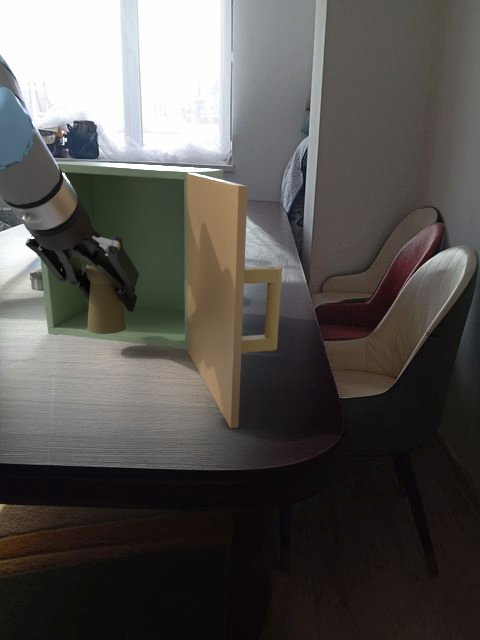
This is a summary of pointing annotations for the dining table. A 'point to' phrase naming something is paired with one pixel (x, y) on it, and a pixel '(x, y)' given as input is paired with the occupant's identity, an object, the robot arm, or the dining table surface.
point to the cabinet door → (223, 288)
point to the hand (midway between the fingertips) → (116, 302)
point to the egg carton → (36, 279)
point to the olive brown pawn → (103, 305)
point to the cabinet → (132, 249)
